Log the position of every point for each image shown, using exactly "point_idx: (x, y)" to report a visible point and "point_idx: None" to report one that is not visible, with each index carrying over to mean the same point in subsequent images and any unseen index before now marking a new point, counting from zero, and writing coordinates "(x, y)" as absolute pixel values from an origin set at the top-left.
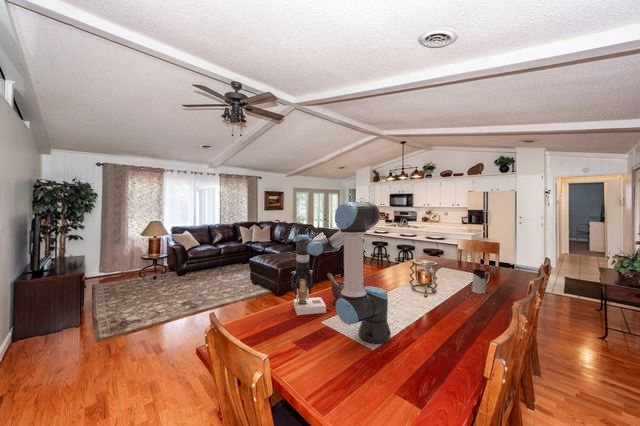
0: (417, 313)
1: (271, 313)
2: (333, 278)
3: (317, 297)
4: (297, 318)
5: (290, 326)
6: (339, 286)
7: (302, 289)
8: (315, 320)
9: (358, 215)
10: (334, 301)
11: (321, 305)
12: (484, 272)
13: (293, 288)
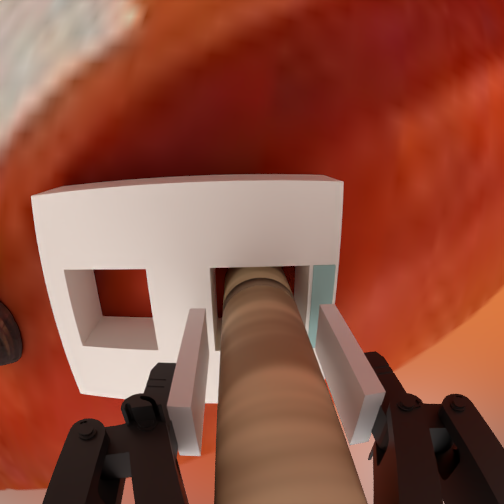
0: None
1: (476, 253)
2: None
3: (105, 395)
4: (328, 112)
5: (390, 11)
6: None
7: (295, 397)
8: (177, 46)
9: None
10: (1, 331)
11: (68, 212)
12: None
13: (448, 401)
